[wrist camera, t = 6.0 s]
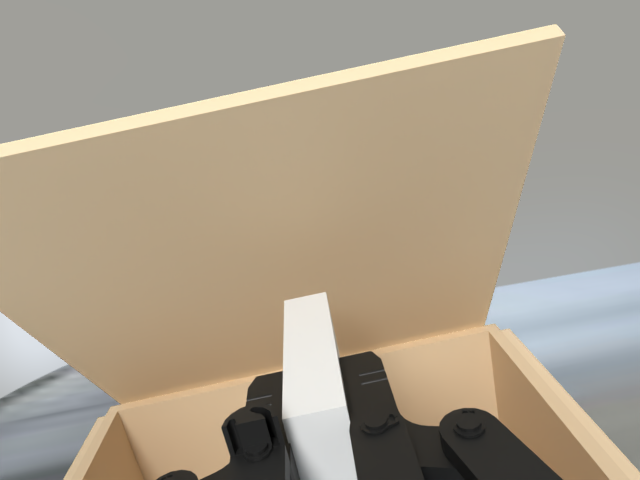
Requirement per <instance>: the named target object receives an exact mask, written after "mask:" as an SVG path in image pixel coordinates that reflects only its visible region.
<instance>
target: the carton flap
mask: <svg viewBox="0 0 640 480" xmlns="http://www.w3.org/2000/svg"><path fill="white" fill-rule="evenodd" d="M564 39H565V34H564V33H563V31H562V30H561V29H560V28H559V27H558V26H557V25H556V24H554V25H549V26H545V27H540V28H535V29H531V30H527V31H522V32H517V33H512V34H508V35H503V36H498V37H494V38H490V39H484V40H480V41H475V42H471V43H466V44H461V45H457V46H452V47H447V48H443V49H438V50H434V51H429V52H424V53H420V54H415V55H411V56H406V57H401V58H397V59H392V60H388V61H383V62H378V63H373V64H369V65H364V66H360V67H355V68H350V69H346V70H341V71H337V72H332V73H327V74H323V75H318V76H313V77H309V78H304V79H299V80H295V81H290V82H286V83H281V84H276V85H272V86H267V87H262V88H258V89H253V90H249V91H244V92H239V93H235V94H230V95H225V96H221V97H216V98H212V99H207V100H202V101H198V102H193V103H189V104H184V105H180V106H175V107H171V108H165V109H161V110H157V111H151V112H147V113H142V114H138V115H133V116H129V117H124V118H119V119H115V120H110V121H105V122H101V123H96V124H91V125H87V126H83V127H78V128H73V129H68V130H63V131H59V132H54V133H50V134H45V135H40V136H36V137H32V138H26V139H22V140H17V141H13V142H9V143H3V144H0V312H1V313H3V314H4V315H5V316H6V317H8V318H9V319H10V320H12V321H13V322H14V323H16V324H17V325H18V326H19V327H21V328H22V329H24V330H25V331H26V332H27V333H29V334H30V335H31V336H32V337H34V338H35V339H37V340H38V341H39V342H40V343H42V344H43V345H44V346H46V347H47V348H48V349H49V350H51V351H52V352H53V353H55V354H56V355H57V356H59V357H60V358H61V359H62V360H64V361H65V362H66V363H68V364H69V365H70V366H72V367H73V368H74V369H75V370H77V371H78V372H79V373H81V374H82V375H83V376H85V377H86V378H87V379H89V380H90V381H91V382H92V383H94V384H95V385H96V386H98V387H99V388H100V389H102V390H103V391H104V392H105V393H107V394H108V395H109V396H111V397H112V398H113V399H115V400H116V401H117V402H119V403H120V404H125V403H130V402H134V401H139V400H143V399H148V398H153V397H157V396H162V395H167V394H171V393H176V392H180V391H185V390H190V389H194V388H199V387H204V386H208V385H213V384H217V383H222V382H227V381H231V380H236V379H240V378H245V377H250V376H254V375H259V374H264V373H268V372H273V371H277V370H282V369H283V339H284V301H285V300H290V299H295V298H299V297H304V296H309V295H313V294H318V293H323V292H326V294H327V299H328V303H329V308H330V312H331V317H332V322H333V326H334V331H335V335H336V340H337V344H338V349H339V354H340V357H342V356H347V355H351V354H356V353H361V352H365V351H370V350H374V349H379V348H384V347H388V346H393V345H398V344H402V343H407V342H411V341H416V340H421V339H425V338H430V337H435V336H439V335H444V334H448V333H453V332H458V331H462V330H467V329H471V328H476V327H481V326H484V325H485V321H486V318H487V314H488V310H489V307H490V303H491V300H492V296H493V293H494V289H495V285H496V282H497V278H498V275H499V271H500V268H501V264H502V260H503V257H504V253H505V250H506V246H507V242H508V238H509V235H510V232H511V228H512V225H513V221H514V218H515V214H516V210H517V207H518V203H519V200H520V196H521V192H522V189H523V185H524V182H525V178H526V175H527V171H528V167H529V164H530V160H531V157H532V153H533V150H534V146H535V143H536V139H537V136H538V132H539V128H540V125H541V121H542V118H543V114H544V111H545V107H546V103H547V100H548V96H549V92H550V89H551V85H552V82H553V78H554V75H555V71H556V67H557V64H558V61H559V57H560V53H561V50H562V46H563V43H564Z"/></svg>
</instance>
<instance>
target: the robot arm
mask: <svg viewBox="0 0 640 480" xmlns="http://www.w3.org/2000/svg"><path fill="white" fill-rule="evenodd" d="M246 400H247V402H246V406H245V407H242V408H240V409H238V410H236V411H235V412H233V413H231V414H230V415H229V416H228V417H227V418H226V419H225V421H224V423H223V425H222V427H221V429H222V432H223V435H224V438H225V442H226V445H227V448H228V451H229V454H230V462H229V464H227V465H226V466H225V467H223V468H222V469H220V470H218V471H217V472H215V473H213V474H211V475H208V476H206V477H204V478H202V479H200V480H563V479H562V478H561V477H560V476H559V475H557V474H556V473H555V472H554V471H553V470H552V469H551V468H550V467H549V466H548V465H547V464H546V463H544V462H543V461H542V460H541V459H540V458H539V457H538V456H537V455H536V454H535V453H534V452H533V451H532V450H530V449H529V448H528V447H527V446H526V445H525V444H524V443H523V442H522V441H521V440H520V439H519V438H517V437H516V436H515V435H514V434H513V433H512V432H511V431H510V430H509V429H508V428H507V427H506V426H505V425H503V424H502V423H501V422H500V421H499V420H498V419H497V418H496V417H495V416H493V415H492V414H490V413H489V412H487V411H484V410H481V409H477V408H461V409H457V410H453V411H451V412H450V413H448V414H446V415H445V416H444V417H443V418H442V420H441V421H440V424H439V426H425V425H418V424H415V423H412V422H410V421H408V420H406V419H405V418H404V417H403V416H402V415H401V414H400V412H399V410H398V408H397V405H396V402H395V399H394V396H393V393H392V390H391V387H390V384H389V381H388V378H387V375H386V372H385V369H384V366H383V363H382V360H381V358H380V357H378V356H377V355H376V354H375V353H373V352H372V351H368V352H364V353H359V354H354V355H349V356H345V357H340V354H339V349H338V344H337V340H336V335H335V331H334V326H333V322H332V317H331V312H330V308H329V303H328V299H327V294H326V292H323V293H318V294H313V295H309V296H304V297H299V298H295V299H290V300H285V301H284V339H283V371H280V372H275V373H271V374H266V375H261V376H257V377H255V379H254V380H253V382H252V383H251V384H250V386H249V387H248V391H247V399H246ZM156 480H198V478H197V475H196V474H194V473H193V472H192V471H188V470H177V471H172V472H169V473H167V474H165V475H162V476H160V477H159V478H158V479H156Z"/></svg>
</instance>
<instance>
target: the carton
mask: <svg viewBox="0 0 640 480" xmlns="http://www.w3.org/2000/svg"><path fill="white" fill-rule="evenodd" d="M370 351H372V352H373V353H375V354H376V355H377V356H378V357H380V358H381V360H382V363H383V366H384V369H385V372H386V375H387V378H388V381H389V384H390V387H391V390H392V393H393V396H394V399H395V402H396V405H397V408H398V410H399V412H400V414H401V415H402V416H403V417H404V418H405V419H406V420H408V421H410V422H412V423H415V424H418V425H425V426H439V424H440V421H441V420H442V418H443V417H444V416H445V415H446V414H448V413H450V412H451V411H453V410H457V409H461V408H477V409H481V410H484V411H487V412H489V413H490V414H492V415H493V416H495V417H496V418H497V419H498V420H499V421H500V422H501V423H502V424H503V425H505V426H506V427H507V428H508V429H509V430H510V431H511V432H512V433H513V434H514V435H515V436H516V437H517V438H519V439H520V440H521V441H522V442H523V443H524V444H525V445H526V446H527V447H528V448H529V449H530V450H532V451H533V452H534V453H535V454H536V455H537V456H538V457H539V458H540V459H541V460H542V461H543V462H544V463H546V464H547V465H548V466H549V467H550V468H551V469H552V470H553V471H554V472H555V473H556V474H557V475H559V476H560V477H561V478H562V479H563V480H640V472H639V471H638V470H637V469H636V468H635V466H634V465H633V464H632V463H631V462H630V461H629V460H628V459H627V458H626V457H625V455H624V454H623V453H622V452H621V451H620V450H619V449H618V448H617V447H616V446H615V444H614V443H613V442H612V441H611V440H610V439H609V438H608V437H607V436H606V434H605V433H604V432H603V431H602V430H601V429H600V428H599V427H598V426H597V425H596V423H595V422H594V421H593V420H592V419H591V418H590V417H589V416H588V415H587V414H586V412H585V411H584V410H583V409H582V408H581V407H580V406H579V405H578V404H577V403H576V401H575V400H574V399H573V398H572V397H571V396H570V395H569V394H568V393H567V392H566V390H565V389H564V388H563V387H562V386H561V385H560V384H559V383H558V382H557V381H556V379H555V378H554V377H553V376H552V375H551V374H550V373H549V372H548V371H547V370H546V368H545V367H544V366H543V365H542V364H541V363H540V362H539V361H538V360H537V359H536V357H535V356H534V355H533V354H532V353H531V352H530V351H529V350H528V349H527V348H526V346H525V345H524V344H523V343H522V342H521V341H520V340H519V339H518V338H517V337H516V335H515V334H514V333H513V332H512V331H511V330H510V329H505V330H500V329H499V328H498V327H497V326H496V324H490V325H486V326H481V327H476V328H472V329H467V330H462V331H458V332H453V333H449V334H444V335H439V336H435V337H430V338H425V339H421V340H416V341H412V342H407V343H402V344H398V345H393V346H389V347H384V348H379V349H375V350H370ZM365 352H368V351H365ZM361 353H364V352H361ZM356 354H359V353H356ZM352 355H354V354H352ZM347 356H349V355H347ZM342 357H345V356H342ZM280 371H283V369H282V370H278V371H273V372H268V373H264V374H259V375H255V376H250V377H245V378H241V379H236V380H231V381H227V382H222V383H218V384H213V385H208V386H204V387H199V388H194V389H190V390H185V391H181V392H176V393H171V394H167V395H162V396H158V397H153V398H148V399H144V400H139V401H134V402H130V403H125V404H121V405H116V406H111V407H110V408H109V410H108V412H107V414H106V416H103V417H98V418H97V420H96V422H95V424H94V426H93V427H92V429H91V431H90V433H89V434H88V436H87V438H86V440H85V442H84V443H83V445H82V447H81V449H80V451H79V452H78V454H77V456H76V458H75V459H74V461H73V463H72V465H71V467H70V468H69V470H68V472H67V474H66V475H65V477H64V479H63V480H156V479H158V478H159V477H160V476H162V475H165V474H167V473H169V472H172V471H177V470H188V471H192V472H193V473H194V474H196V475H197V478H198V480H200V479H202V478H204V477H206V476H208V475H211V474H213V473H215V472H217V471H218V470H220V469H222V468H223V467H225V466H226V465H227V464H229V462H230V454H229V451H228V448H227V445H226V442H225V438H224V435H223V432H222V429H221V427H222V425H223V423H224V421H225V419H226V418H227V417H228V416H229V415H230V414H231V413H233V412H235V411H236V410H238V409H240V408H242V407H245V406H246V402H247V400H246V399H247V391H248V387H249V386H250V384H251V383H252V382H253V380H254V379H255V377H257V376H261V375H266V374H271V373H275V372H280Z"/></svg>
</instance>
